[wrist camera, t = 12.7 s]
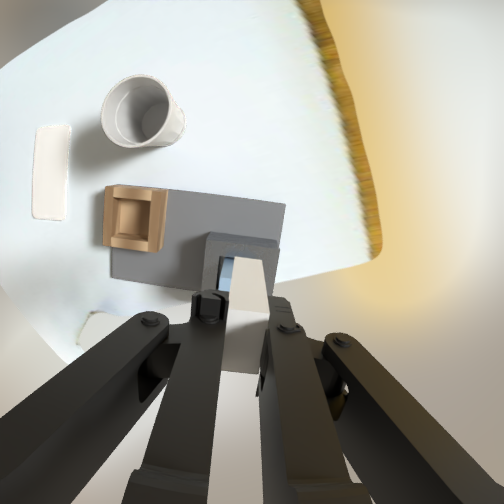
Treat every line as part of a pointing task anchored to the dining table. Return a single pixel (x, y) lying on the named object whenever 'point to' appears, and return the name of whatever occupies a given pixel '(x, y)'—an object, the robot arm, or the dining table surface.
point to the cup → (142, 113)
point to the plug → (226, 274)
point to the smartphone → (50, 172)
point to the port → (238, 247)
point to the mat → (196, 237)
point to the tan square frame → (134, 217)
